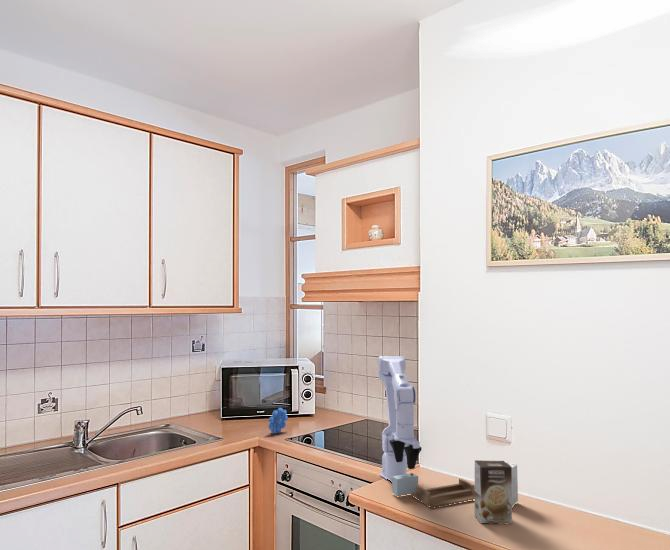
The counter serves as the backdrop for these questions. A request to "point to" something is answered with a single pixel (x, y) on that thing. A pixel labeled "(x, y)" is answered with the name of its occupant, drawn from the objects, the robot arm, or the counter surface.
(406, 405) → the robot arm
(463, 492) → the wooden tray
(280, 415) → the grapes
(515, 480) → the skincare box
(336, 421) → the counter surface
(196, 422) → the counter surface
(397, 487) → the door panel
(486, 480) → the coffee box
